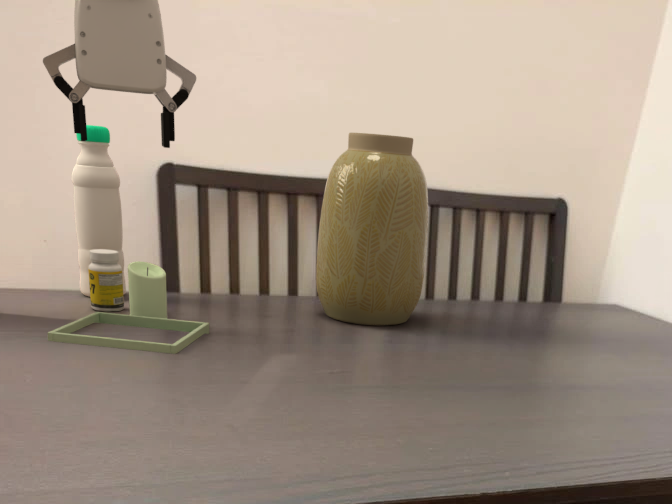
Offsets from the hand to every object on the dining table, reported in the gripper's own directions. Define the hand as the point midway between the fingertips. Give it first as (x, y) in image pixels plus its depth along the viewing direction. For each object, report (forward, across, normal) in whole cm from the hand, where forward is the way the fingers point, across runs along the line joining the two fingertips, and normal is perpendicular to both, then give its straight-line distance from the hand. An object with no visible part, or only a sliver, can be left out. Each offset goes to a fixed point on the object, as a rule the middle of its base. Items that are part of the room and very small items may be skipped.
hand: (125, 144), depth 90 cm
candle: (+23, -2, -3) cm, 24 cm away
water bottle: (+23, +4, -25) cm, 34 cm away
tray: (+23, +1, +10) cm, 25 cm away
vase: (+23, -37, -9) cm, 45 cm away
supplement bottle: (+23, +3, -14) cm, 27 cm away
